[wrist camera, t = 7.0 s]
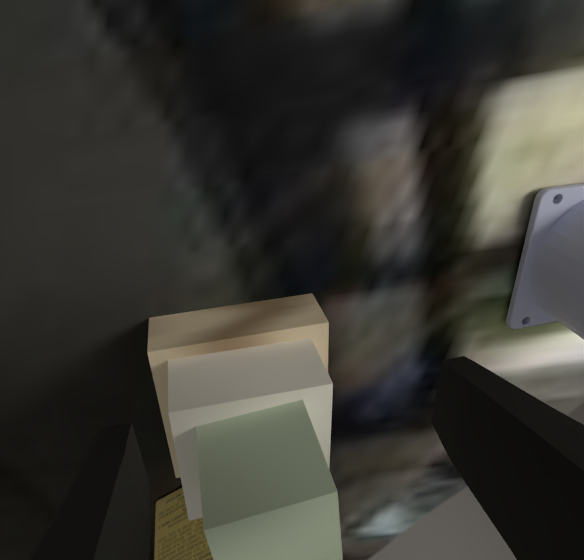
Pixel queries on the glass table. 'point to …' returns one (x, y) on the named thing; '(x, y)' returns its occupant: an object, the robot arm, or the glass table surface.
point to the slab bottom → (230, 337)
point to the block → (267, 488)
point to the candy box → (178, 531)
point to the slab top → (242, 397)
